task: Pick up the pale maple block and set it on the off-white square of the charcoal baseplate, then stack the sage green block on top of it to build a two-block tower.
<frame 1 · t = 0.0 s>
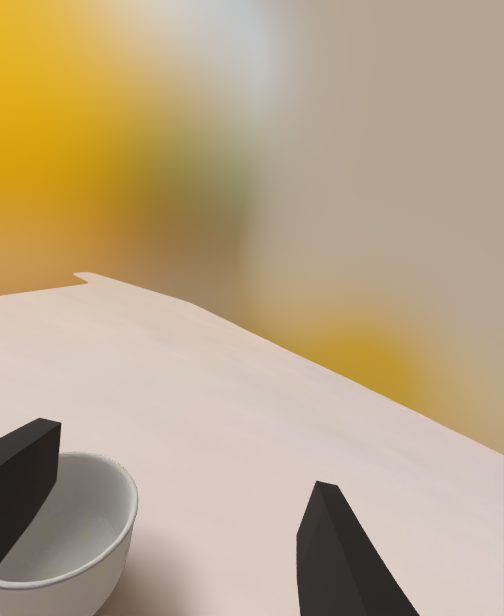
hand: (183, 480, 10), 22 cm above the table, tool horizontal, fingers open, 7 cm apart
teacup: (38, 575, 27), on the table
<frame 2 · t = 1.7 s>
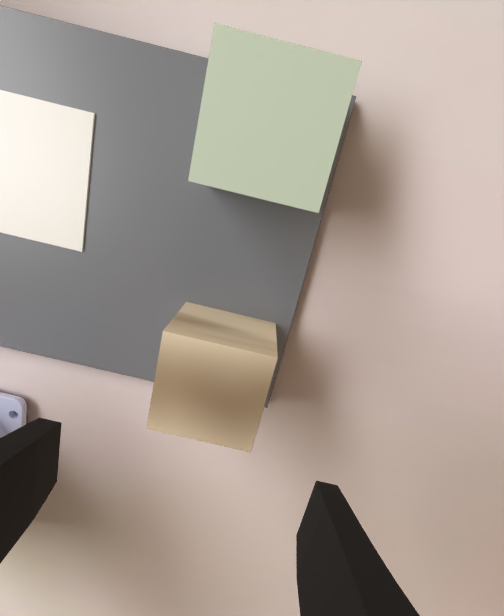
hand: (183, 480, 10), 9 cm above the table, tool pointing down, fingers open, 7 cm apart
baseplate: (132, 229, 17), on the table
maple block: (221, 353, 18), resting on baseplate
sage block: (269, 144, 15), resting on baseplate
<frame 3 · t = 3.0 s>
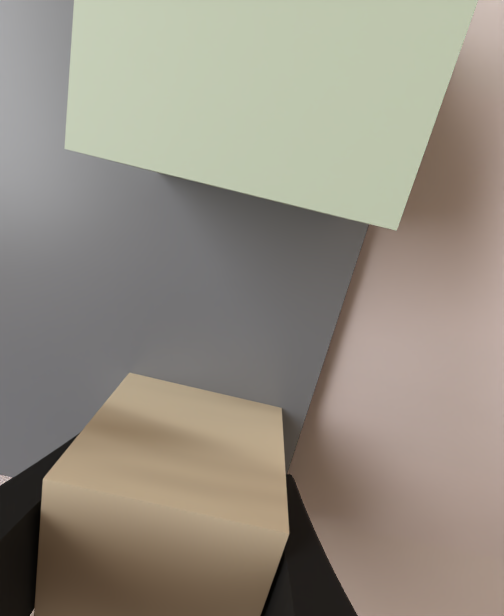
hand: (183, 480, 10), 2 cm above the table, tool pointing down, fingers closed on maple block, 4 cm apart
baseplate: (32, 249, 10), on the table
maple block: (192, 453, 11), resting on baseplate, touching gripper
sage block: (271, 91, 8), resting on baseplate
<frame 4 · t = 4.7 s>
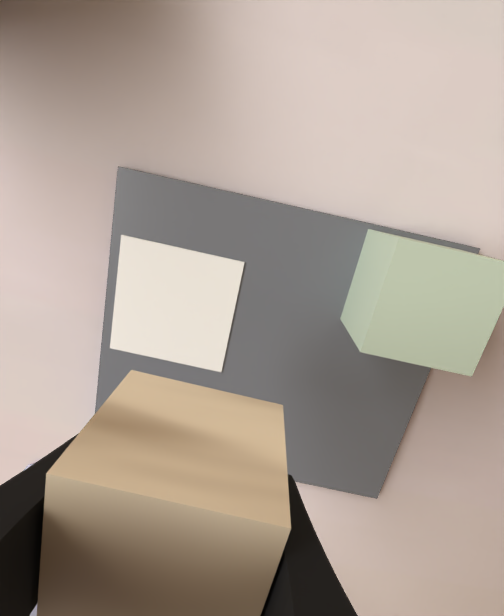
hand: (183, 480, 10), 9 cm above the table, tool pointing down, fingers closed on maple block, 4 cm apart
baseplate: (264, 350, 19), on the table
maple block: (193, 450, 11), point 8 cm above the table, touching gripper
sage block: (399, 285, 17), resting on baseplate
when the fingers open (2 cm above the table, at t = 6.8 s): maple block stays where it is, resting on baseplate.
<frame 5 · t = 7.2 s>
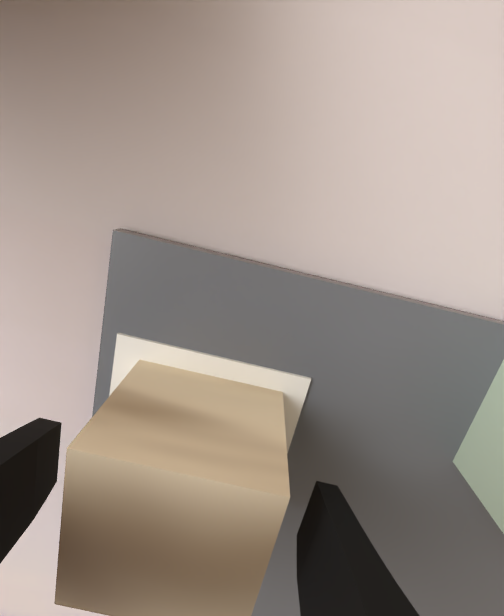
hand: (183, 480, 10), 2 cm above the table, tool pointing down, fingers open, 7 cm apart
baseplate: (328, 492, 13), on the table
maple block: (198, 435, 11), point 1 cm above the table, touching baseplate
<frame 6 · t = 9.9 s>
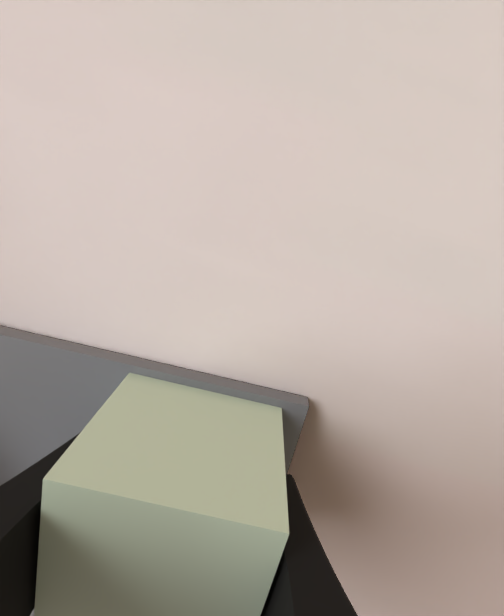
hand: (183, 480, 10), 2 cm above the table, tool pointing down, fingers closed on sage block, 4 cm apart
baseplate: (21, 521, 13), on the table
sage block: (192, 453, 11), resting on baseplate, touching gripper
when the fingers open (6 cm above the table, at t = 12.9 s): sage block stays where it is, resting on maple block.
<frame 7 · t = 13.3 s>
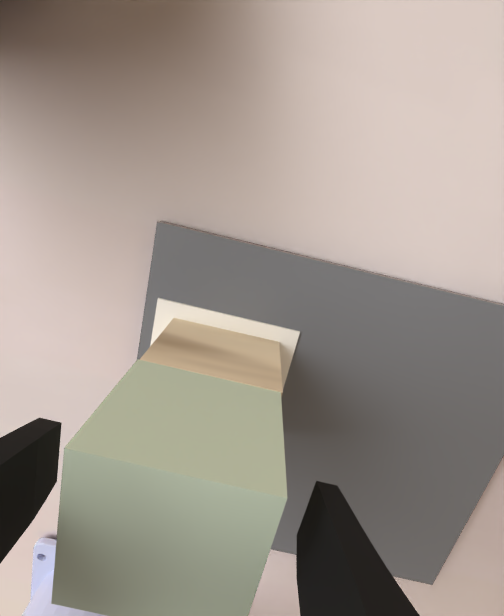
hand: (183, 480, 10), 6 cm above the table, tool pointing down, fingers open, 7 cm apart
baseplate: (314, 424, 16), on the table
maple block: (216, 376, 15), point 1 cm above the table, touching baseplate, sage block
sage block: (196, 436, 11), point 5 cm above the table, touching maple block
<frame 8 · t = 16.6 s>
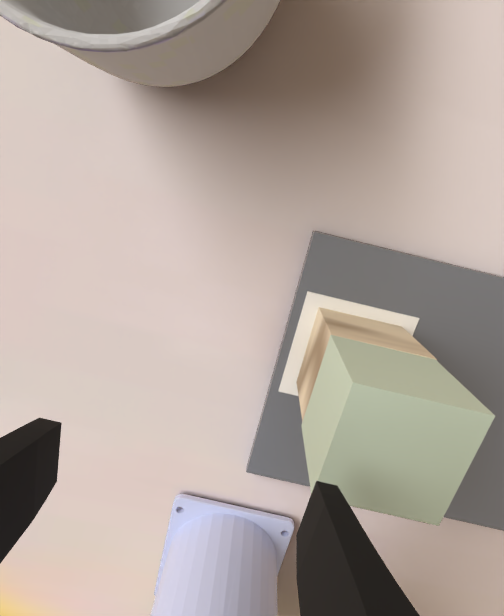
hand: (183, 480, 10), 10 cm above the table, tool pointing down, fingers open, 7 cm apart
baseplate: (419, 395, 20), on the table
maple block: (347, 355, 19), point 1 cm above the table, touching baseplate, sage block
sage block: (365, 393, 15), point 5 cm above the table, touching maple block
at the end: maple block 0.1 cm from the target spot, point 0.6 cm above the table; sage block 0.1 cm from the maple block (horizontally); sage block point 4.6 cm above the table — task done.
